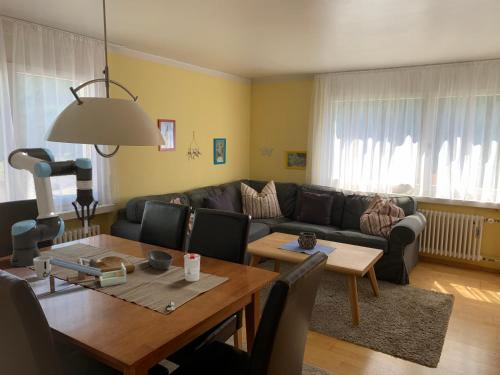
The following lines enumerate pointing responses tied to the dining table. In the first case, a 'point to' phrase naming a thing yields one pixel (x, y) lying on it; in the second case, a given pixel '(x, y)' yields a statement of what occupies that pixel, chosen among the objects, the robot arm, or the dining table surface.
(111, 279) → the box
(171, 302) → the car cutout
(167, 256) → the bowl
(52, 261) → the lever
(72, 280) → the stand
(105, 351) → the dining table surface
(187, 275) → the white can
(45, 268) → the cup
